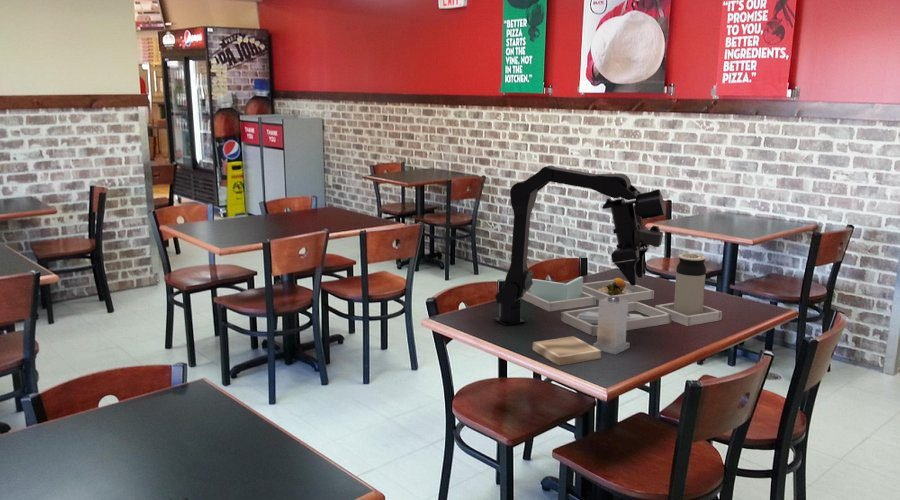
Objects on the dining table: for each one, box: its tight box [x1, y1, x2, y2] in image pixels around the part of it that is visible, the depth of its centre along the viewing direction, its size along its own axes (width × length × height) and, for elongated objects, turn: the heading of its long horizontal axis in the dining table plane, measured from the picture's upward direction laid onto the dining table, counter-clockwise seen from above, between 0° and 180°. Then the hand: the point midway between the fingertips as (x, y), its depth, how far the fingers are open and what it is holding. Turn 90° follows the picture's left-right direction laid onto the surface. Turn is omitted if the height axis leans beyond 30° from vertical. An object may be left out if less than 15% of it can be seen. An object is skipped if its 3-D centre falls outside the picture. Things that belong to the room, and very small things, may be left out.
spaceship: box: [576, 310, 646, 325], centre depth 206 cm, size 23×7×4 cm, turn 96°
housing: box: [592, 296, 631, 355], centre depth 184 cm, size 6×7×13 cm
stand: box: [532, 335, 602, 366], centre depth 181 cm, size 12×12×2 cm
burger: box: [596, 275, 634, 296], centre depth 234 cm, size 12×12×8 cm
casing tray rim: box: [560, 301, 672, 337], centre depth 207 cm, size 15×27×2 cm, turn 116°
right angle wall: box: [530, 276, 584, 302], centre depth 227 cm, size 12×12×8 cm
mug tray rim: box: [654, 302, 723, 327], centre depth 212 cm, size 13×13×2 cm
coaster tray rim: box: [520, 287, 597, 312], centre depth 227 cm, size 17×17×2 cm
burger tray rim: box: [582, 279, 655, 302], centre depth 235 cm, size 17×17×2 cm
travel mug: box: [673, 253, 707, 316], centre depth 210 cm, size 8×8×18 cm
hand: (637, 281), depth 190 cm, fingers open, 9 cm apart
